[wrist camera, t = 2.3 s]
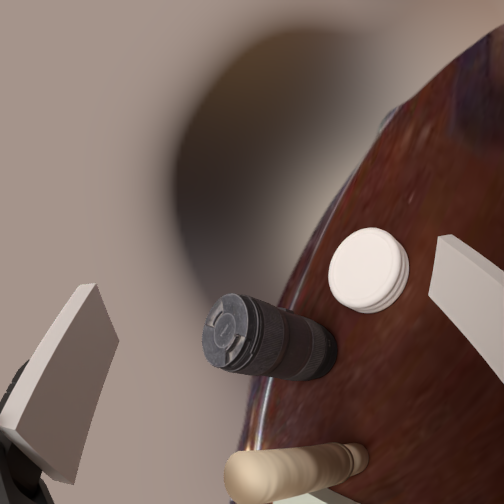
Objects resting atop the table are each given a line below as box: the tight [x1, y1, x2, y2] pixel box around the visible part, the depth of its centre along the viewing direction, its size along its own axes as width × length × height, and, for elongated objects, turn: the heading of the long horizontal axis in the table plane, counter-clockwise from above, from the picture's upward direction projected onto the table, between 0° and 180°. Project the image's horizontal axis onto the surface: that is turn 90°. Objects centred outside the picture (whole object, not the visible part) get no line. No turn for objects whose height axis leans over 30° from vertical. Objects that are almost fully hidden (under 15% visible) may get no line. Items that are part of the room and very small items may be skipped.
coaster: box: [328, 228, 409, 313], centre depth 35 cm, size 10×10×4 cm
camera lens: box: [202, 293, 337, 381], centre depth 34 cm, size 8×8×15 cm
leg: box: [224, 442, 369, 504], centre depth 23 cm, size 5×5×16 cm
